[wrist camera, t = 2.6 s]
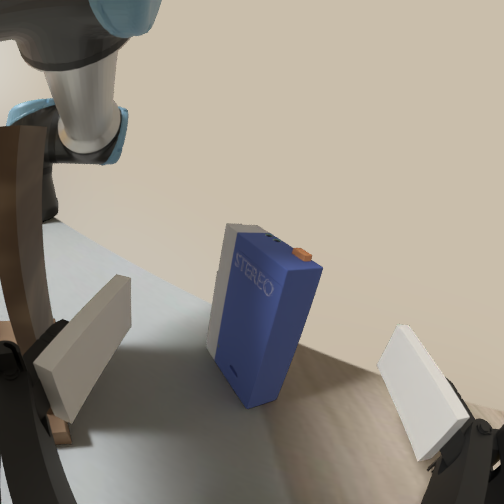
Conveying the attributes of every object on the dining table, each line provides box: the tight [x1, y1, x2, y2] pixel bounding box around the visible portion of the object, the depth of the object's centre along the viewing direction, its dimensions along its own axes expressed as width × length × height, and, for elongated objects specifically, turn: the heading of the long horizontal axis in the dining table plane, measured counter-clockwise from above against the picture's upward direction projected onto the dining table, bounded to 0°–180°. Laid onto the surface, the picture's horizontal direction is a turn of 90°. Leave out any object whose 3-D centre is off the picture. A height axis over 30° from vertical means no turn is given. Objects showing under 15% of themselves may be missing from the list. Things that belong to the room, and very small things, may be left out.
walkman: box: [206, 224, 323, 409], centre depth 21 cm, size 8×3×12 cm, turn 30°
